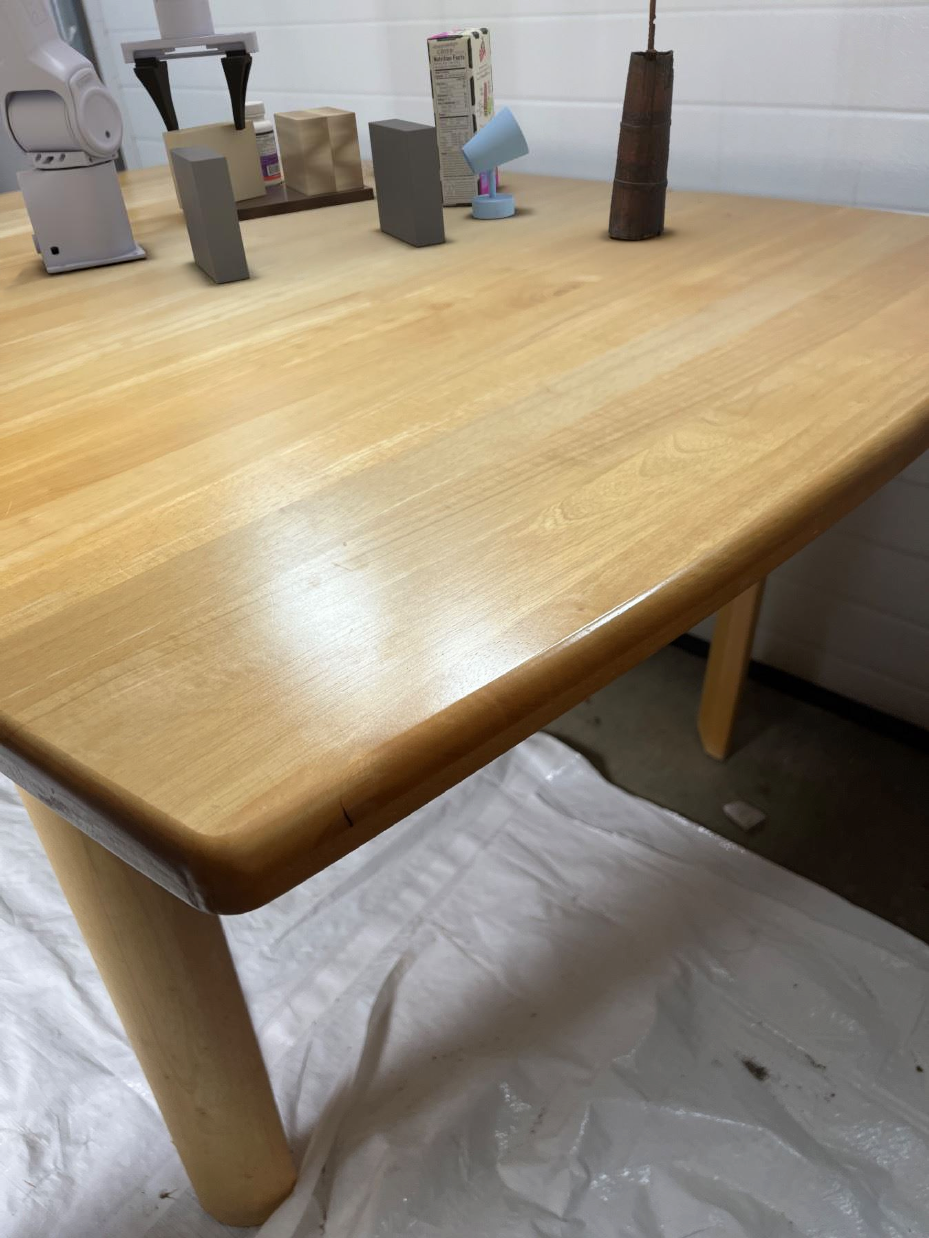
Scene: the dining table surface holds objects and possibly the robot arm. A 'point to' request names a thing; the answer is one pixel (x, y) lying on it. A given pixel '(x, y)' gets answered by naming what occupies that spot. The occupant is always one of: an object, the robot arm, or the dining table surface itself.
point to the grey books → (399, 179)
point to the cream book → (225, 154)
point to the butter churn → (643, 144)
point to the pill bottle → (264, 142)
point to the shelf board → (313, 164)
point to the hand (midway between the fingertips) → (207, 132)
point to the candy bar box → (460, 107)
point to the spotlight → (494, 161)
